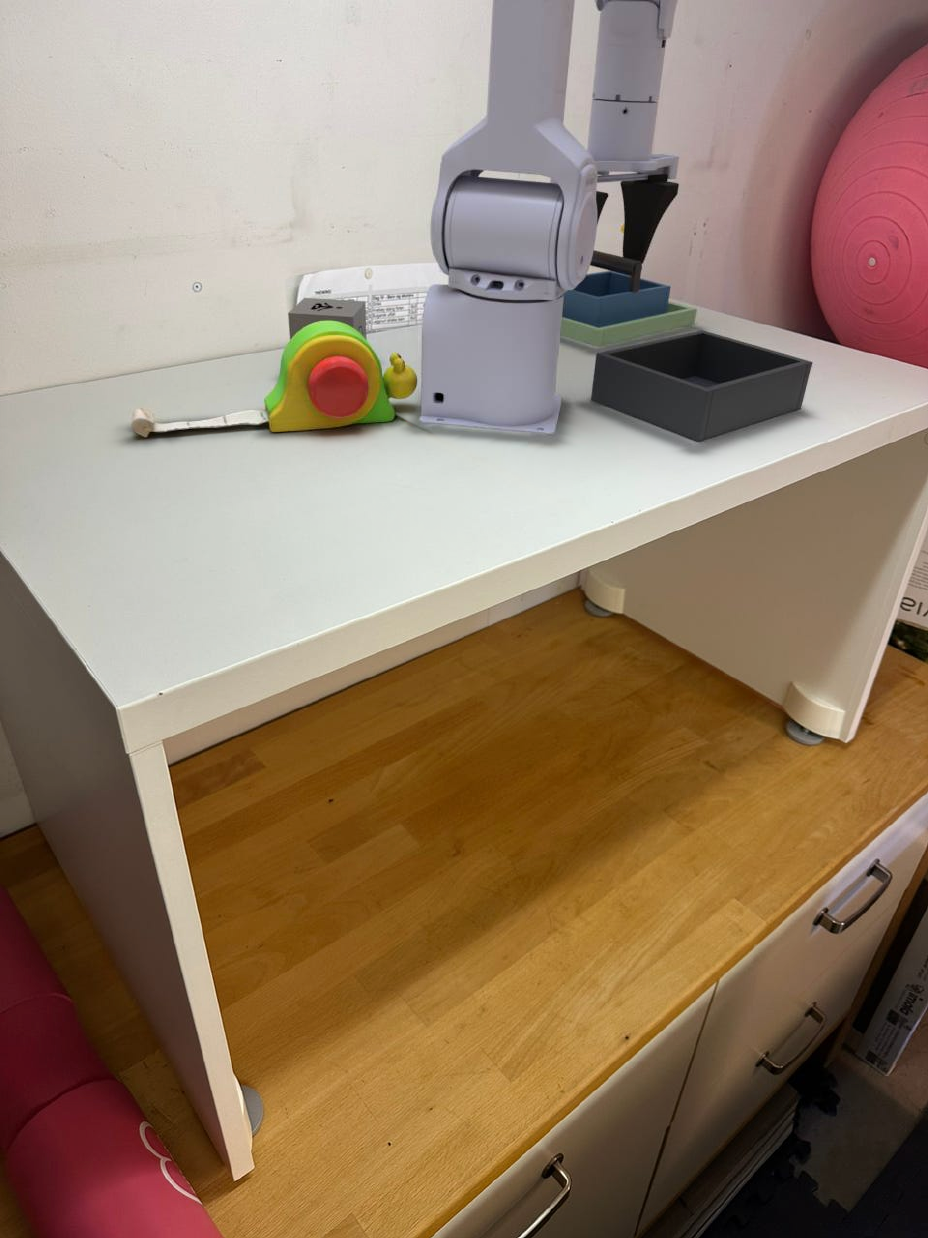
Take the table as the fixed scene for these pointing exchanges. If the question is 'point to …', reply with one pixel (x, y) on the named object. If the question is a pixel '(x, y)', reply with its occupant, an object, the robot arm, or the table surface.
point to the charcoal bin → (700, 383)
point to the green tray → (629, 326)
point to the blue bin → (614, 294)
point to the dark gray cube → (328, 314)
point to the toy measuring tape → (317, 386)
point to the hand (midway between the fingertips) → (605, 266)
